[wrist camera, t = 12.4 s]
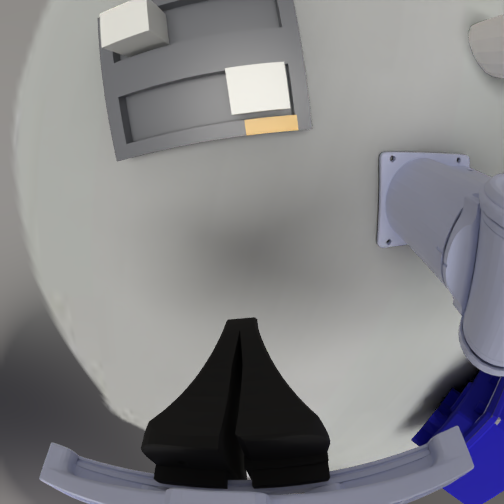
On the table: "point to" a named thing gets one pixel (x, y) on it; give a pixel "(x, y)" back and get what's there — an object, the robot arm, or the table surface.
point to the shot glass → (489, 45)
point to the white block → (257, 88)
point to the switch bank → (202, 76)
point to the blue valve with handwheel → (474, 435)
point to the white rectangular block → (133, 28)
